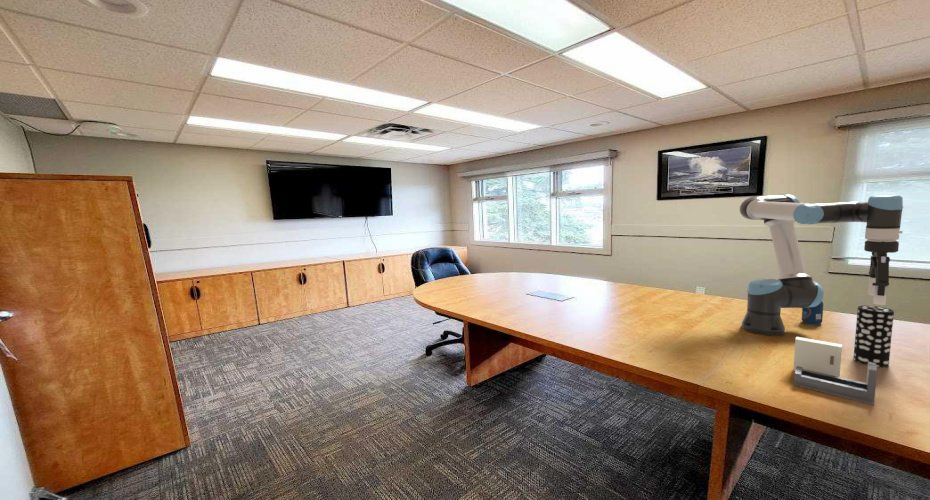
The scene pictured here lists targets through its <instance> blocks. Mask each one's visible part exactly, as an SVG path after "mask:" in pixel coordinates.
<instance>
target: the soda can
mask: <svg viewBox="0 0 930 500" xmlns="http://www.w3.org/2000/svg"><path fill="white" fill-rule="evenodd" d="M823 315H824V302H823V300H822V301H821V302H820V304H819V305H817V306H815V307H808V308H801V321H802V322H803V323H804V324H807V325H811V326H820V325H822V323H823V317H824V316H823Z"/></svg>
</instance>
